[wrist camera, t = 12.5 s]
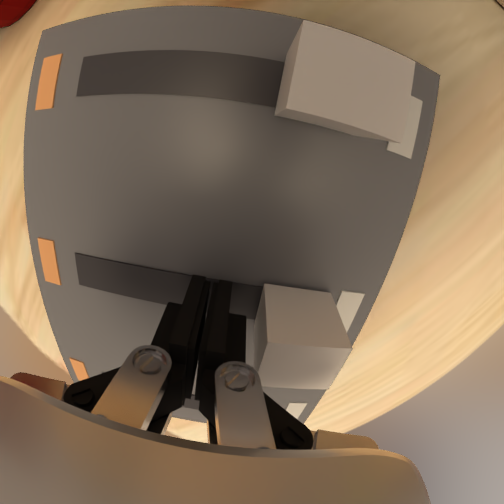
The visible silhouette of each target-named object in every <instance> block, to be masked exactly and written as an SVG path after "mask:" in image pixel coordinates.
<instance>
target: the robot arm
mask: <svg viewBox="0 0 504 504" xmlns="http://www.w3.org/2000/svg"><path fill="white" fill-rule="evenodd" d="M497 1H498V2H499V3H500V4H501V5H502V6H503V7H504V0H497ZM232 283H233V282H232V281H226V280H219V283H217V282H214V283H213V288H212V292H211V297H210V301H209V306H208V310H207V304H208V296H209V289H210V281H206V277H204V276H199V275H192V278H191V281H190V283H189V286H188V289H187V292H186V295H185V297H184V300H183V303H182V304H178V303H173V302H168V304H167V306H166V308H165V311H164V313H163V315H162V318H161V320H160V323H159V325H158V328H157V330H156V332H155V335H154V337H153V340H152V343H151V345H144V346H139V347H137V348H135V349H134V350H133V351H132V352H131V353H130V354H129V355H128V357H127V358H126V360H125V361H124V363H123V364H122V366H121V367H118V368H116V369H113V370H110V371H107V372H104V373H102V374H99V375H96V376H93V377H90V378H87V379H84V380H81V381H78V382H75V383H73V384H71V385H67V384H66V382H64V381H59V380H54V379H49V378H45V377H40V376H36V375H32V374H27V373H21V372H20V373H16V374H14V375H13V376H12V377H11V378H7V377H4V376H0V504H431V503H430V499H429V496H428V492H427V489H426V487H425V484H424V481H423V479H422V477H421V474H420V472H419V470H418V469H417V467H416V466H415V464H414V463H413V462H412V461H411V460H410V459H408V458H407V457H405V456H403V455H400V454H397V453H394V452H390V451H385V450H379V449H378V445H377V444H376V443H375V441H374V440H372V439H371V438H369V437H366V436H359V435H351V434H343V433H336V432H330V431H324V430H317V431H310V430H309V429H308V428H307V427H306V426H305V425H304V424H303V423H301V422H300V421H299V420H298V419H296V418H295V417H294V416H292V415H291V414H290V413H289V412H287V411H286V410H285V409H284V408H282V407H281V406H280V405H279V404H277V403H276V402H275V401H274V400H273V399H271V398H270V397H269V396H268V395H267V394H266V393H264V392H263V389H262V385H261V380H260V377H259V374H258V372H257V371H256V370H255V369H254V368H253V367H251V366H250V365H248V364H246V320H247V319H246V316H245V315H238V314H232V313H229V310H230V301H231V292H232ZM206 311H207V315H206ZM205 319H206V320H205ZM197 364H198V368H197ZM196 369H197V378H196V388H195V400H197V401H200V402H199V411H200V412H201V413H202V415H203V416H204V417H205V418H206V419H207V433H208V443H203V442H196V441H191V440H185V439H180V438H175V437H170V436H166V435H164V434H165V432H166V429H167V427H168V424H169V422H170V420H171V417H172V414H173V411H175V410H177V409H179V408H181V407H182V405H183V406H184V404H185V399H186V398H187V399H191V396H192V390H193V385H194V380H195V374H196Z"/></svg>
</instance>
